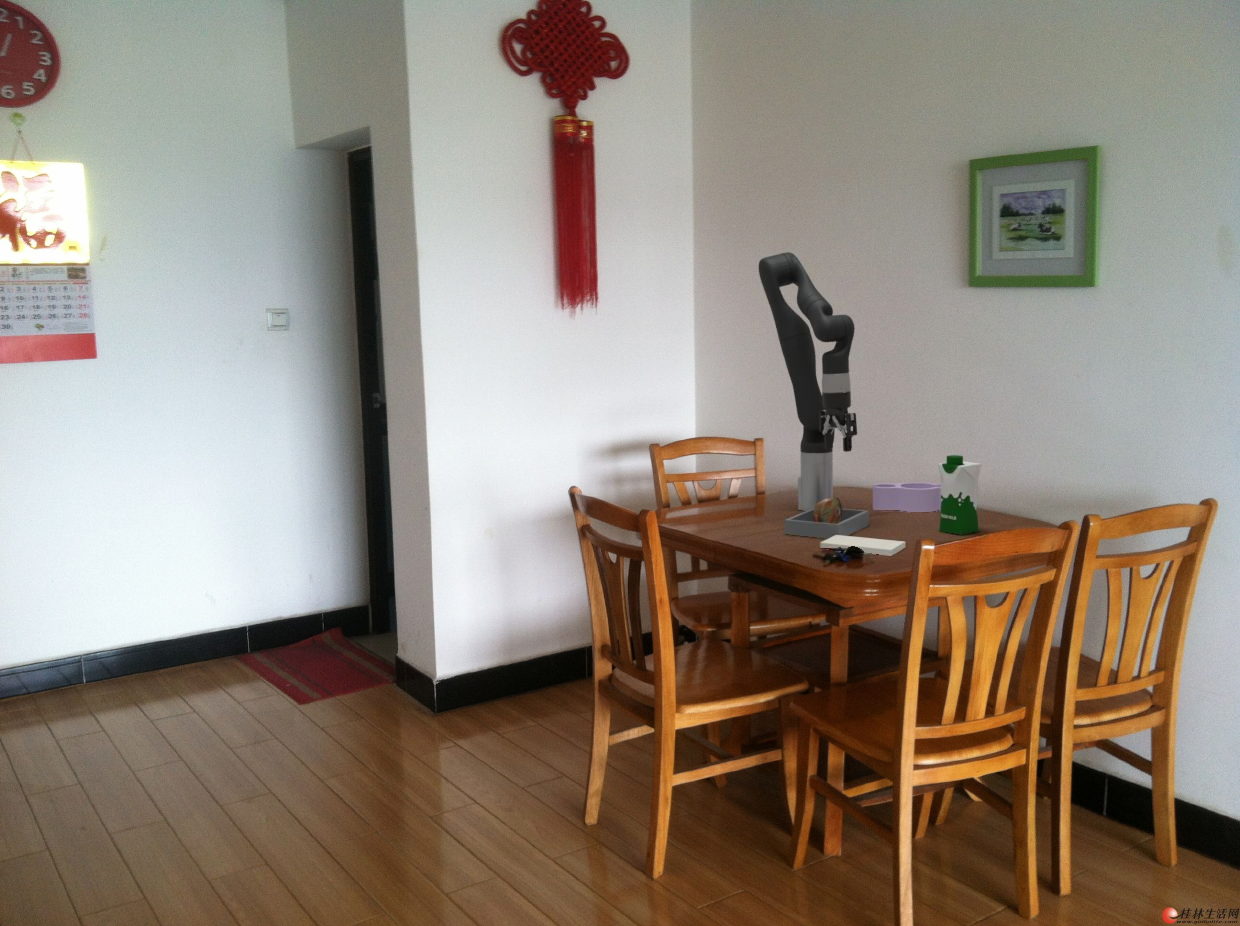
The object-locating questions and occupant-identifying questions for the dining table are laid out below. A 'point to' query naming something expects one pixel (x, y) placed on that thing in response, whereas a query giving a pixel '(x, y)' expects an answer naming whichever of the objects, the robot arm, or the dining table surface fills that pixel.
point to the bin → (827, 524)
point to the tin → (828, 511)
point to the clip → (907, 497)
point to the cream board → (865, 544)
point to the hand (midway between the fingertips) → (838, 449)
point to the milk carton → (959, 495)
